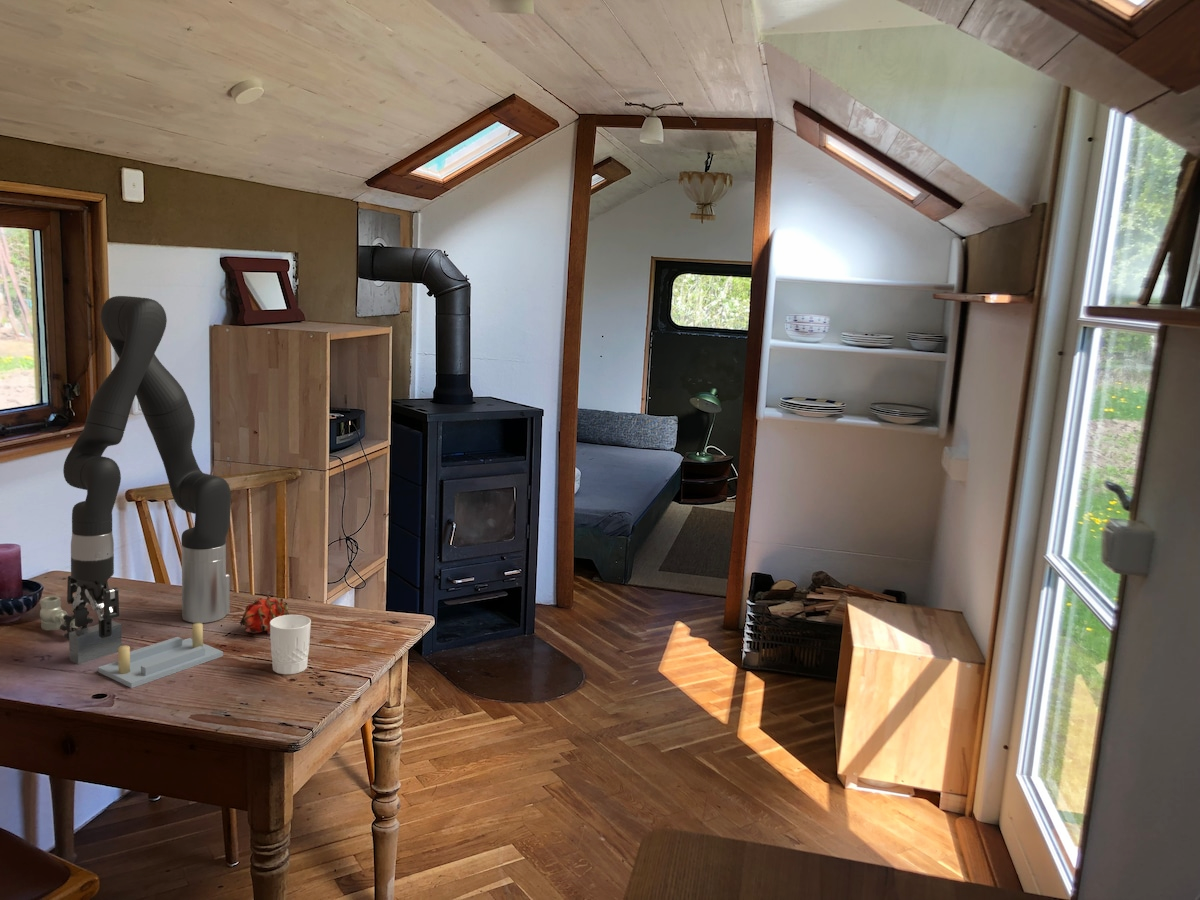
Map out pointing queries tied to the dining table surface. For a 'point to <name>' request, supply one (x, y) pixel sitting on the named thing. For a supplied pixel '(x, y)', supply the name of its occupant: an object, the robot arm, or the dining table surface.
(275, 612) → the dragon fruit
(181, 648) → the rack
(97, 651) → the gray rectangular block
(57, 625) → the valve
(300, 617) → the white cup
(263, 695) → the dining table surface
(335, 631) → the dining table surface
